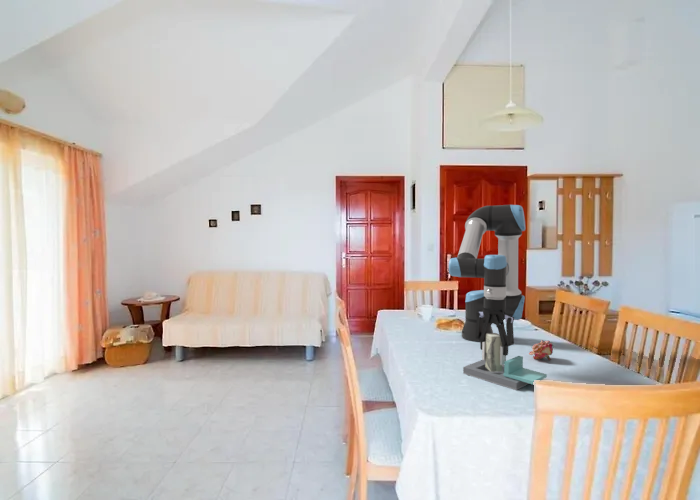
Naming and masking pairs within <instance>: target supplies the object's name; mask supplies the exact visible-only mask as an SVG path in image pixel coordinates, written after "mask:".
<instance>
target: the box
mask: <svg viewBox="0 0 700 500" xmlns="http://www.w3.org/2000/svg"><path fill="white" fill-rule="evenodd" d="M500 346H502V342H501V338H500V335H499V333H498V332H493V333H486V358H485V367H486V368H487V369H488V370H489V371H491V372H501V371H502V365H500Z"/></svg>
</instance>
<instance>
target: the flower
mask: <svg viewBox="0 0 700 500" xmlns="http://www.w3.org/2000/svg"><path fill="white" fill-rule="evenodd" d="M531 349H532V350H531V351H529V353H528V355H531V356H532V358H533V359H534V360H542V359H547V360H548V361H549V362H550V361H552V359H551V358H550V356H551V355H552V354H553V353H554V347H553V343H552V342H551V341H550V340H545V341H543V340H541V341H540V342H539V343H534V344H533V345H532V347H531Z"/></svg>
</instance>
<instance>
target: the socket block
mask: <svg viewBox="0 0 700 500" xmlns="http://www.w3.org/2000/svg"><path fill="white" fill-rule="evenodd" d="M462 368H463V370H462V371H463V373H462V374H464V375H467V376H471V377H473V378H477V379H480V380H483V381H486V382H489V383H493V384H496V385H499V386H502V387H504V388H508V389H511V390H515V391H518V390H519V389H521V388H523V387H525V386H526V385H527V386H528V385H529V383H526V382H523V381H519V380H516V379H512V378H509V377H506V376H504V364H503V365H502V371H501V372H491V371H489V370H488V369H487V368H486V367H485V360H482V359H480V360H478V361H475V362H472V363H470V364H468V365H465V366H463V367H462Z"/></svg>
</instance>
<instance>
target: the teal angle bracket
mask: <svg viewBox="0 0 700 500" xmlns="http://www.w3.org/2000/svg"><path fill="white" fill-rule="evenodd" d="M523 364H524V356H522V355H516V356H515V357H513V358H510V359H506V361H505V362H504V376H506V377H509V378H512V379H516V380H519V381H523V382H526V383H529V384H530V385H534V384H533V382H534V380H540V381H543V380H544V379H546V378H547V375H548V374H547V373H543V372H539V371H536V370H532V369H529V368H526V367H524V365H523ZM529 384H528V385H529Z"/></svg>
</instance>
